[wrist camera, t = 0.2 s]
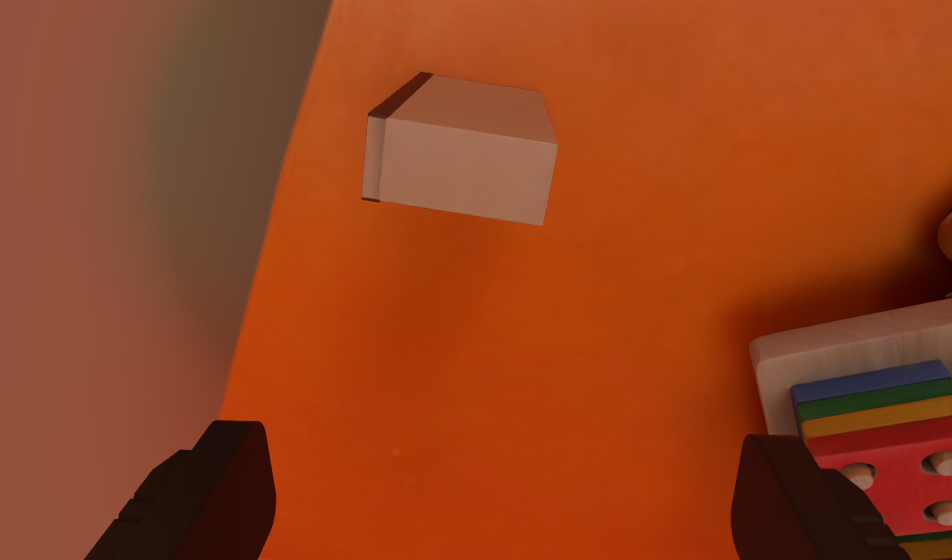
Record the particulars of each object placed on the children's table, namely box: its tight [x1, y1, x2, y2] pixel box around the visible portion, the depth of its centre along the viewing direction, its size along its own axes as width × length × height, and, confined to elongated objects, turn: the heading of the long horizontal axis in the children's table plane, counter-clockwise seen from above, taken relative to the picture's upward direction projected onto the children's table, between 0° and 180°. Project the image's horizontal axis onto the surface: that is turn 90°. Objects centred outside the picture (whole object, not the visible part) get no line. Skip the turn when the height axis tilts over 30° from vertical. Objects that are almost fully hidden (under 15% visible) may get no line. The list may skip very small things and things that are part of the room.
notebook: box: [361, 72, 558, 226], centre depth 25 cm, size 3×6×12 cm, turn 81°
